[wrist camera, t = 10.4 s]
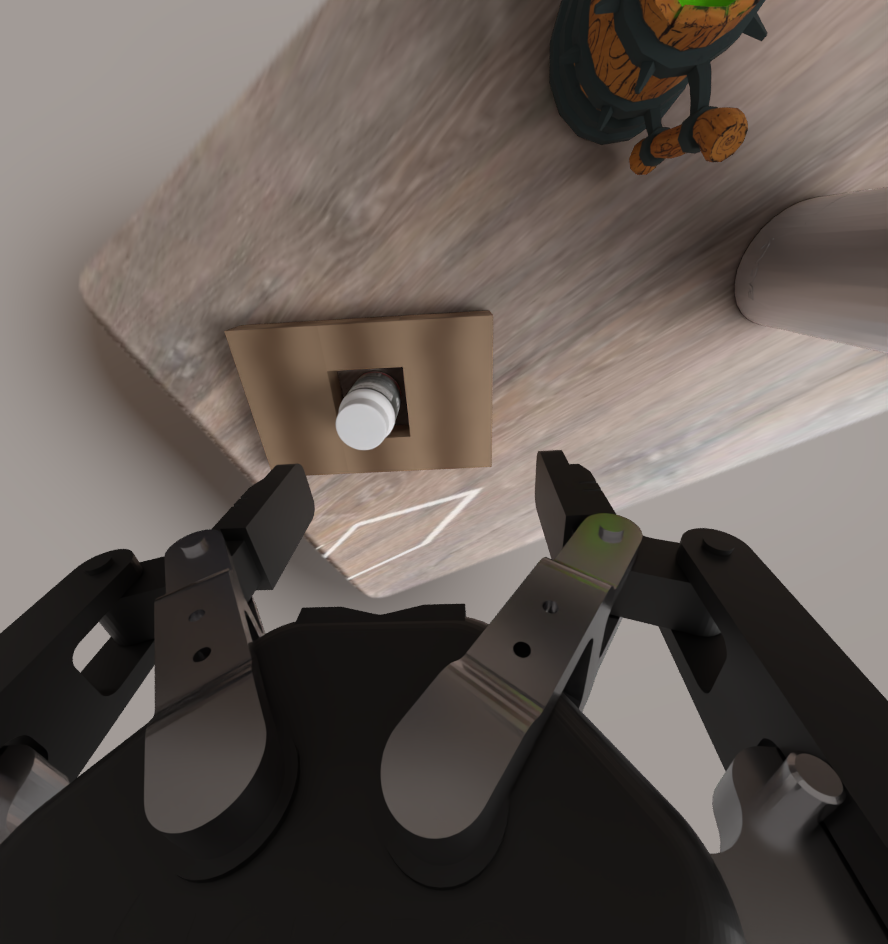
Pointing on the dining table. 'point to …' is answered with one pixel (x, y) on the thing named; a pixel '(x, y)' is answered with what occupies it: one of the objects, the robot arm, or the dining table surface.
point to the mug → (648, 73)
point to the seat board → (367, 347)
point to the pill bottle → (369, 411)
